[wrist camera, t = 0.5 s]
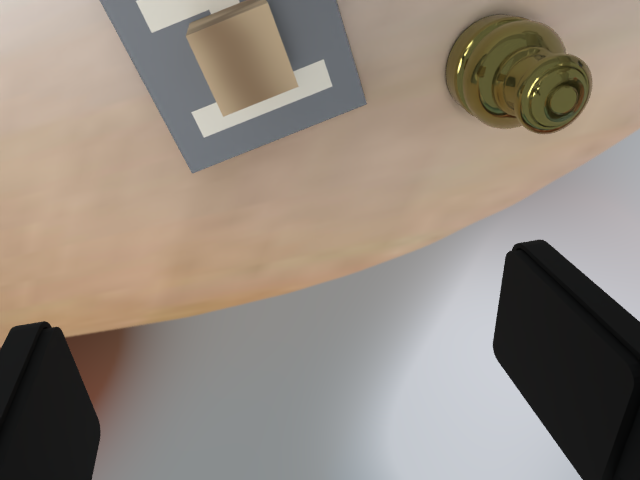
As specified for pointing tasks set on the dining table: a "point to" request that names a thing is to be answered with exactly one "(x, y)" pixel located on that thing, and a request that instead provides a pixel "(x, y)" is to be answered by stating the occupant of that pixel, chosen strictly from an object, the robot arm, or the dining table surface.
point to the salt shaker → (517, 75)
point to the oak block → (241, 55)
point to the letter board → (194, 92)
